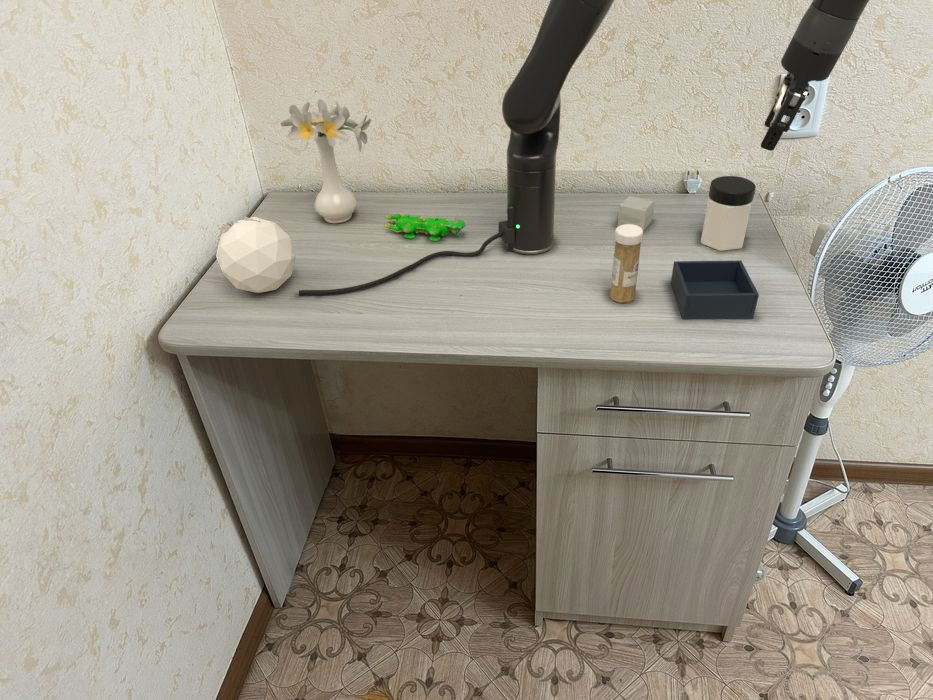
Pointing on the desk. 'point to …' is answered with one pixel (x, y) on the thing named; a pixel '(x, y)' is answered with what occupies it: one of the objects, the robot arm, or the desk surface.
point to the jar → (727, 212)
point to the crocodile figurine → (424, 226)
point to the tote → (713, 290)
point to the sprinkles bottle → (626, 262)
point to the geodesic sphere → (255, 255)
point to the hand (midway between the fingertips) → (768, 137)
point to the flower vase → (328, 153)
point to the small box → (636, 212)
